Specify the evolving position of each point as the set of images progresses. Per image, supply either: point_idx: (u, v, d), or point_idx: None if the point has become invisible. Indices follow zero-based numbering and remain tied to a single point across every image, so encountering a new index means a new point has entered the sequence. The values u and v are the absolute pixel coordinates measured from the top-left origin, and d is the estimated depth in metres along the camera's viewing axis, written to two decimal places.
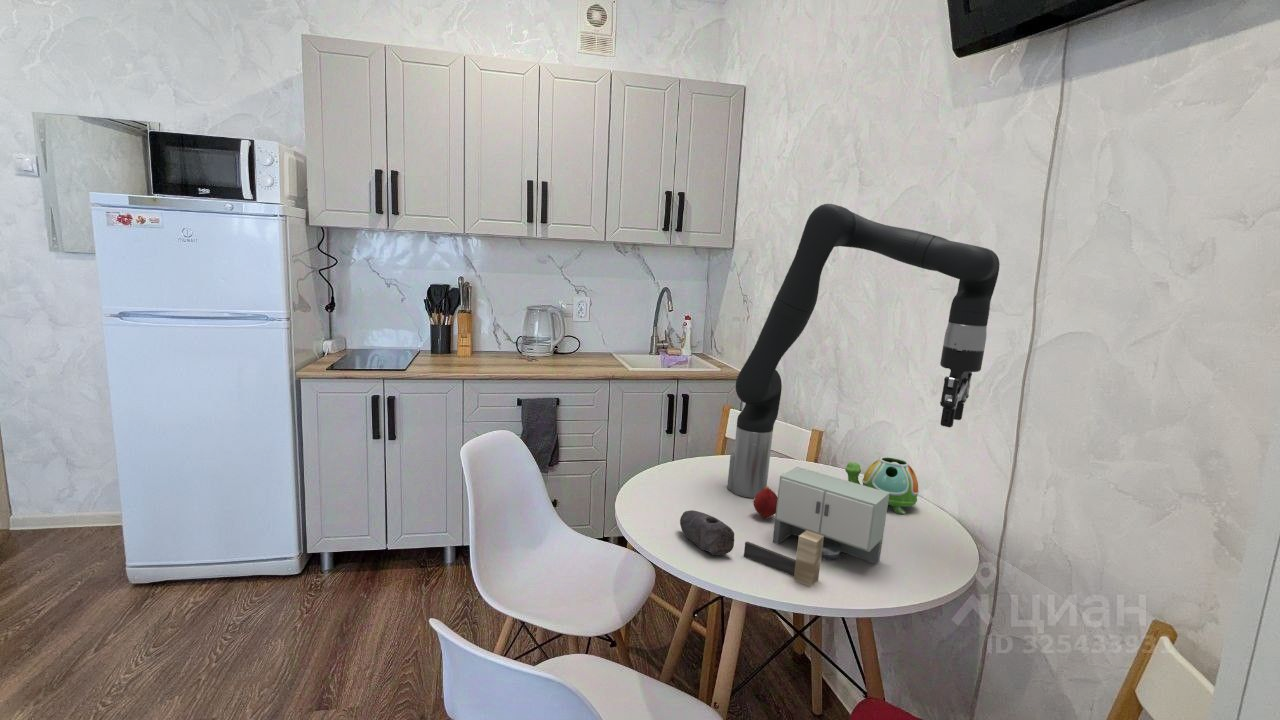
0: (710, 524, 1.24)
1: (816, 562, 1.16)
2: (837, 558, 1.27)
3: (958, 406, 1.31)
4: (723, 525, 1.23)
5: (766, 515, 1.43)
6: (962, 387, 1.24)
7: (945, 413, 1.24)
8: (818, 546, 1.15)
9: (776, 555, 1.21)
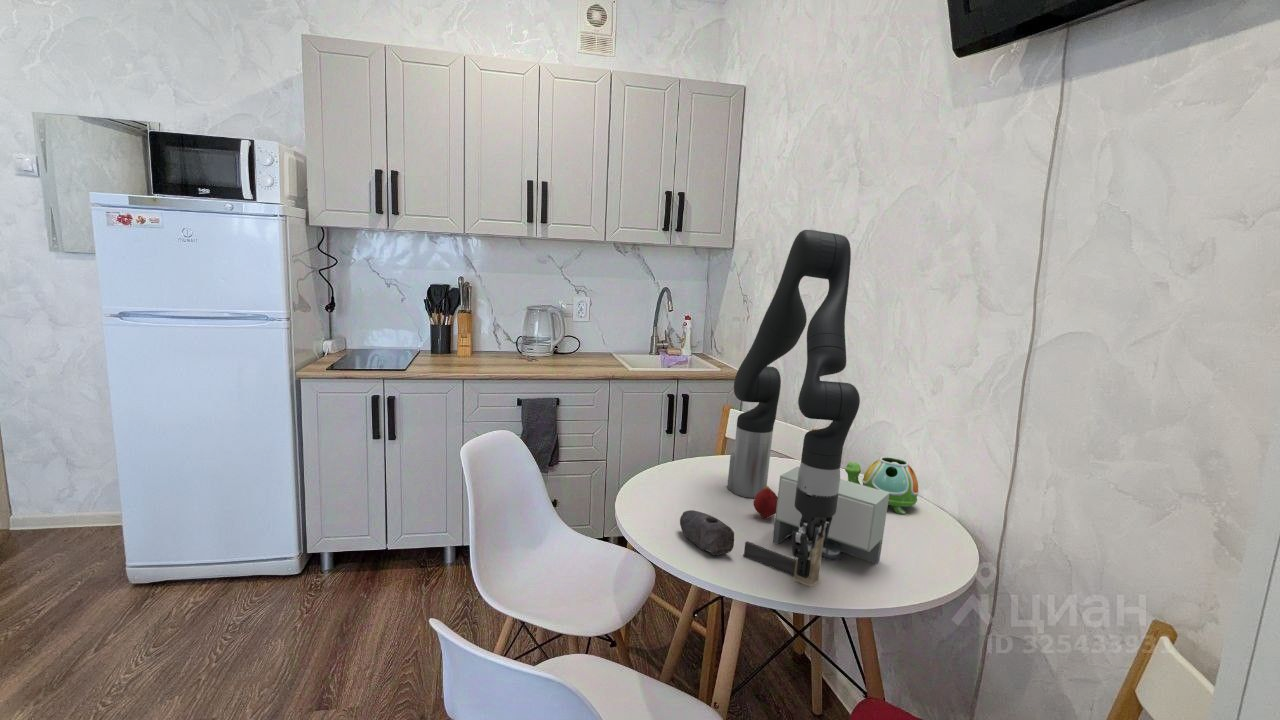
0: (710, 524, 1.24)
1: (816, 562, 1.16)
2: (837, 558, 1.27)
3: None
4: (723, 525, 1.23)
5: (766, 515, 1.43)
6: (815, 535, 1.14)
7: (800, 563, 1.15)
8: (818, 546, 1.15)
9: (776, 555, 1.21)
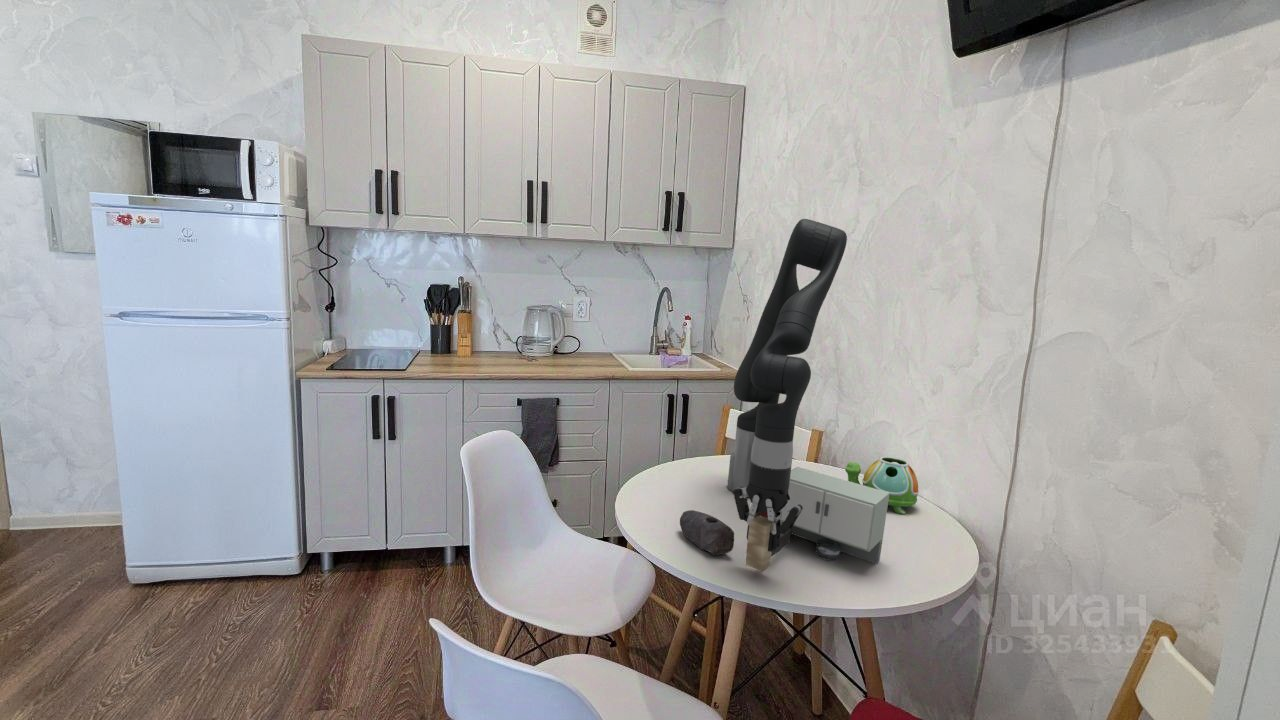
0: (710, 524, 1.24)
1: (754, 546, 1.16)
2: (837, 558, 1.27)
3: None
4: (723, 525, 1.23)
5: (766, 515, 1.43)
6: None
7: None
8: (756, 530, 1.15)
9: None
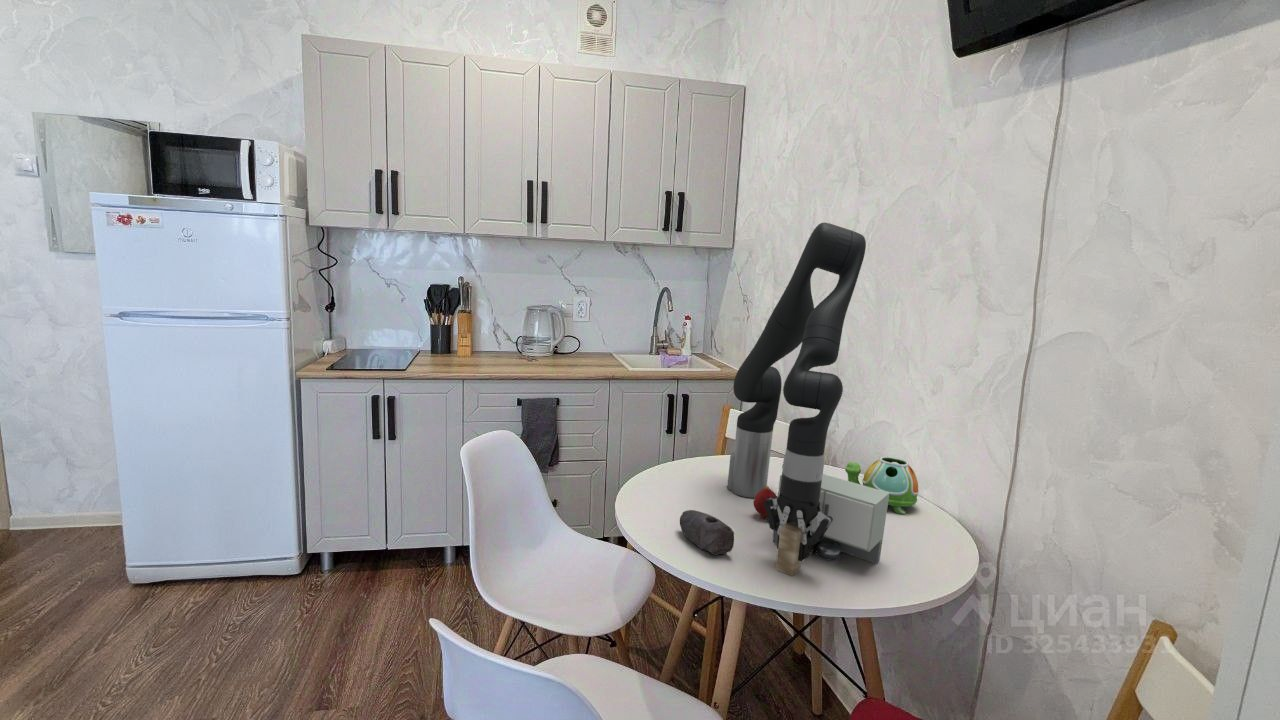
0: (710, 524, 1.24)
1: (785, 551, 1.19)
2: (837, 558, 1.27)
3: None
4: (723, 525, 1.24)
5: (766, 515, 1.43)
6: None
7: None
8: (787, 536, 1.19)
9: None
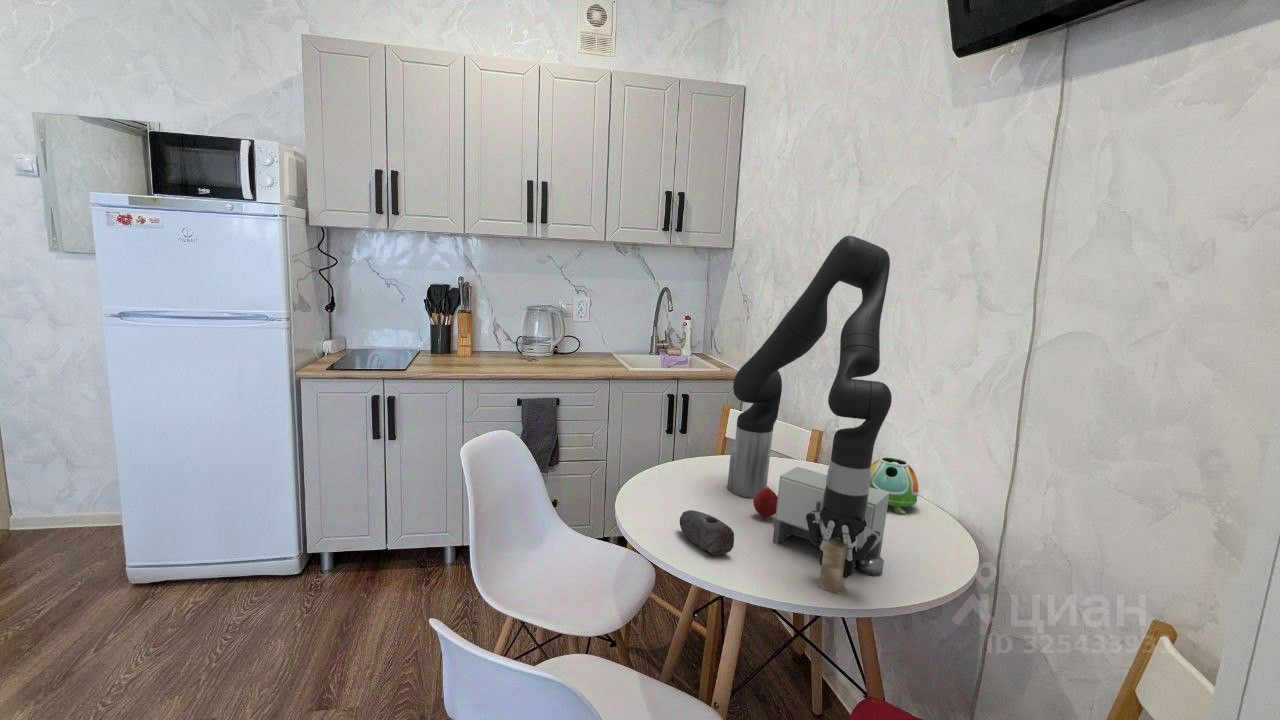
0: (710, 524, 1.24)
1: (829, 568, 1.14)
2: (879, 573, 1.22)
3: None
4: (723, 525, 1.24)
5: (766, 515, 1.43)
6: (826, 527, 1.15)
7: None
8: (831, 552, 1.13)
9: None
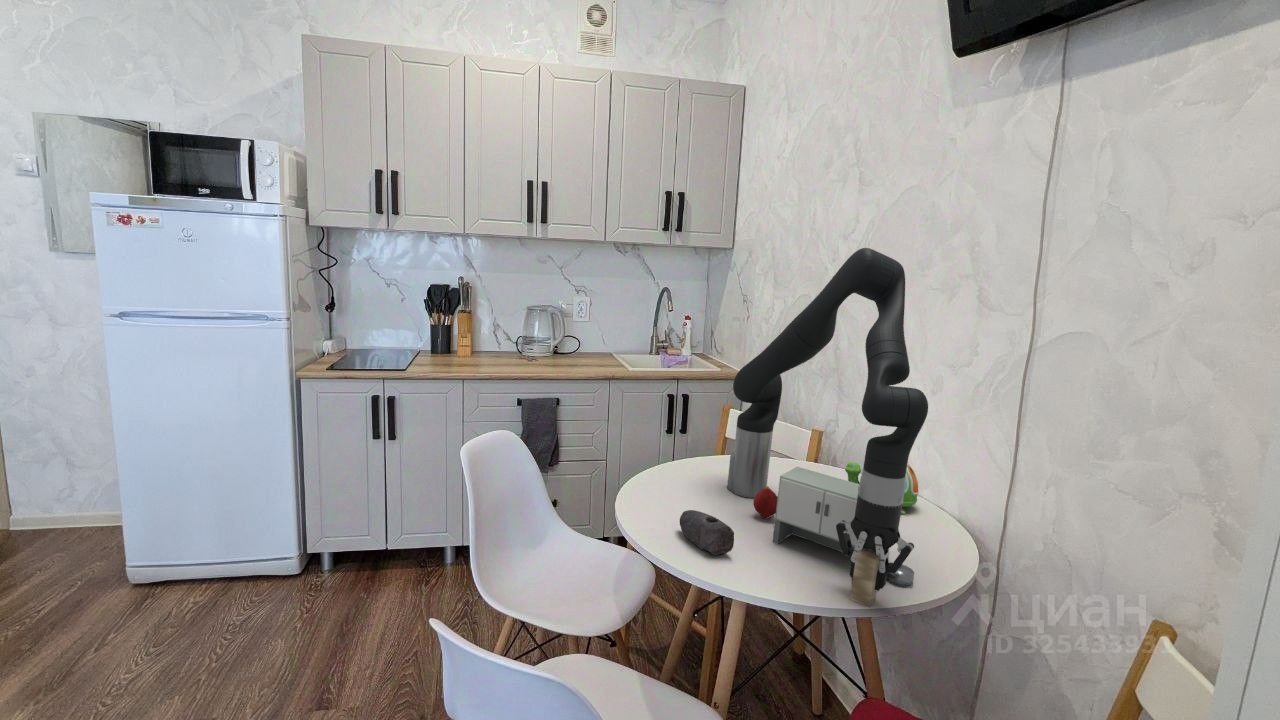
0: (710, 524, 1.24)
1: (861, 580, 1.11)
2: (910, 584, 1.18)
3: None
4: (723, 525, 1.24)
5: (766, 515, 1.43)
6: (858, 538, 1.12)
7: None
8: (863, 563, 1.10)
9: None
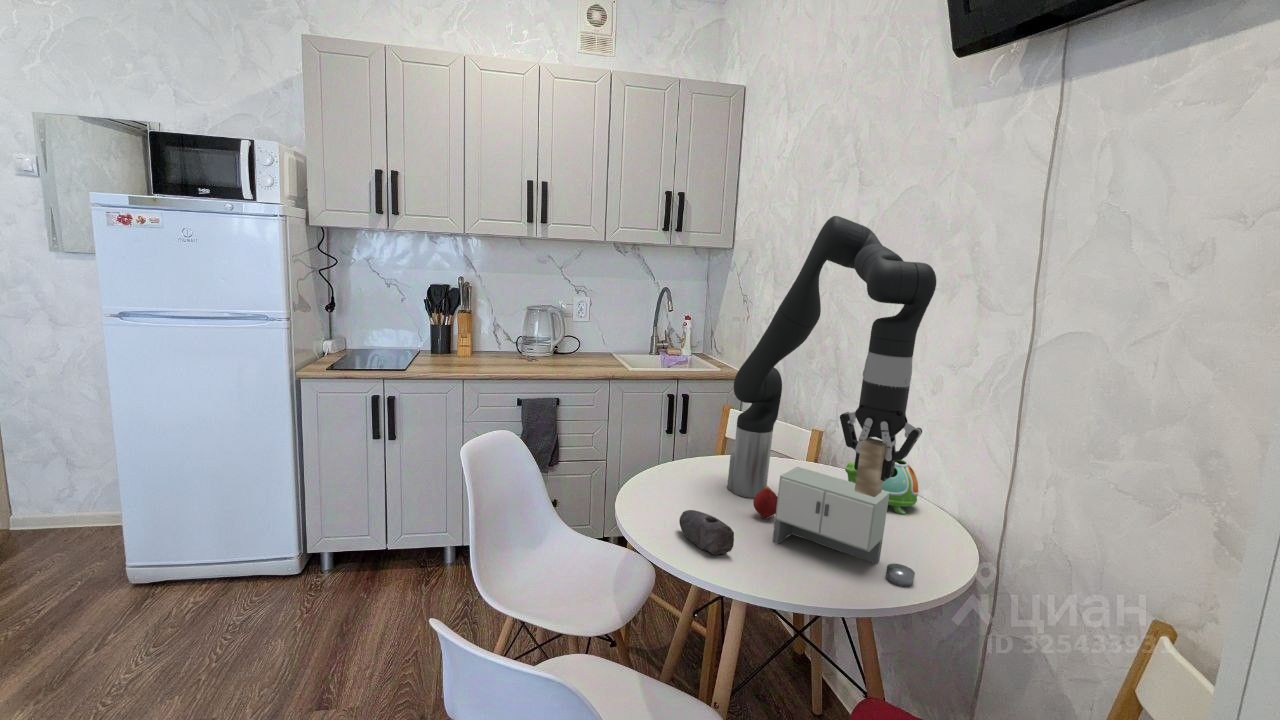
0: (710, 524, 1.24)
1: (866, 469, 1.05)
2: (910, 585, 1.18)
3: None
4: (723, 524, 1.24)
5: (766, 515, 1.43)
6: None
7: None
8: (869, 451, 1.05)
9: None
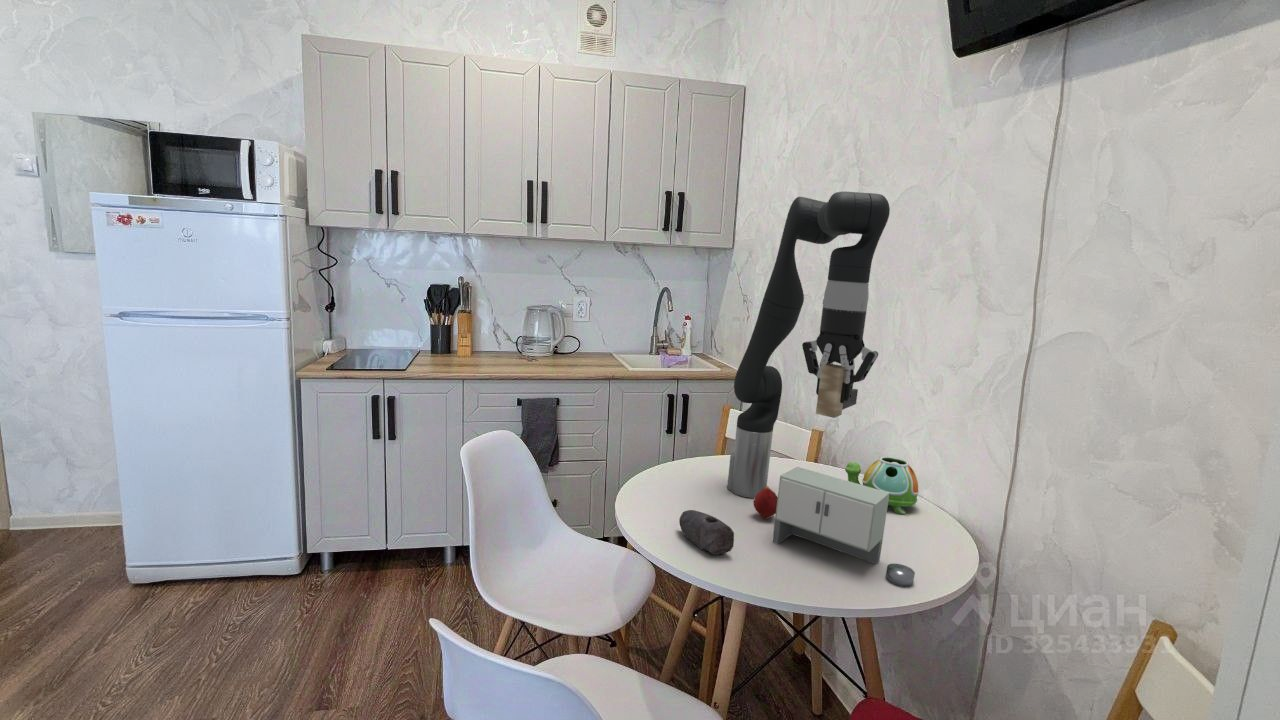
0: (710, 524, 1.25)
1: (826, 391, 1.11)
2: (910, 585, 1.18)
3: None
4: (723, 524, 1.24)
5: (766, 515, 1.43)
6: None
7: None
8: (828, 374, 1.10)
9: None
